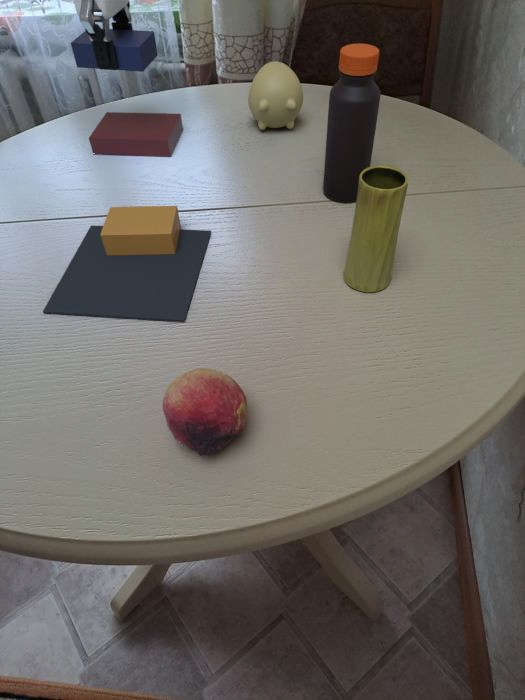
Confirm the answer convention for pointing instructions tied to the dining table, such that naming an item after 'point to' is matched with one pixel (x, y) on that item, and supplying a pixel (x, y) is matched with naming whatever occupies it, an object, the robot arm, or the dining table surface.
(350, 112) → the bottle
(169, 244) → the top book
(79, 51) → the middle book
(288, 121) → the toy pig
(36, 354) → the dining table surface
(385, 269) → the vase
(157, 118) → the bottom book
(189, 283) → the desk mat
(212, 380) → the fruit
